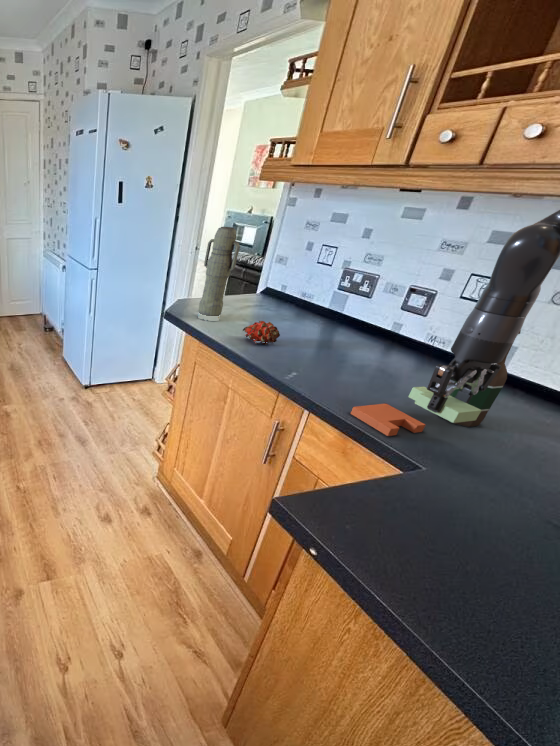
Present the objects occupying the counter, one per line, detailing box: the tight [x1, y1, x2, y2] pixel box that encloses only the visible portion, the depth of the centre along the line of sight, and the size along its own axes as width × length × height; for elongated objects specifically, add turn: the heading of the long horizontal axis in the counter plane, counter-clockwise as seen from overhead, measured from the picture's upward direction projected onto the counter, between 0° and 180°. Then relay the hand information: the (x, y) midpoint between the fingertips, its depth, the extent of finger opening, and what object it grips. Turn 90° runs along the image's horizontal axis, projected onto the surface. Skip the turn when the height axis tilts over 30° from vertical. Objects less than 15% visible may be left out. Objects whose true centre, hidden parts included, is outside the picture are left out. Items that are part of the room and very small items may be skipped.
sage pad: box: [407, 386, 482, 424], centre depth 87 cm, size 6×11×2 cm, turn 12°
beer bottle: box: [450, 329, 522, 428], centre depth 96 cm, size 8×8×24 cm
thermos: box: [197, 226, 241, 322], centre depth 161 cm, size 9×12×35 cm
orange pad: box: [350, 403, 426, 437], centre depth 99 cm, size 10×10×2 cm
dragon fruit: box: [242, 320, 281, 345], centre depth 144 cm, size 8×8×12 cm
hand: (445, 409), depth 87 cm, fingers closed on sage pad, 6 cm apart
